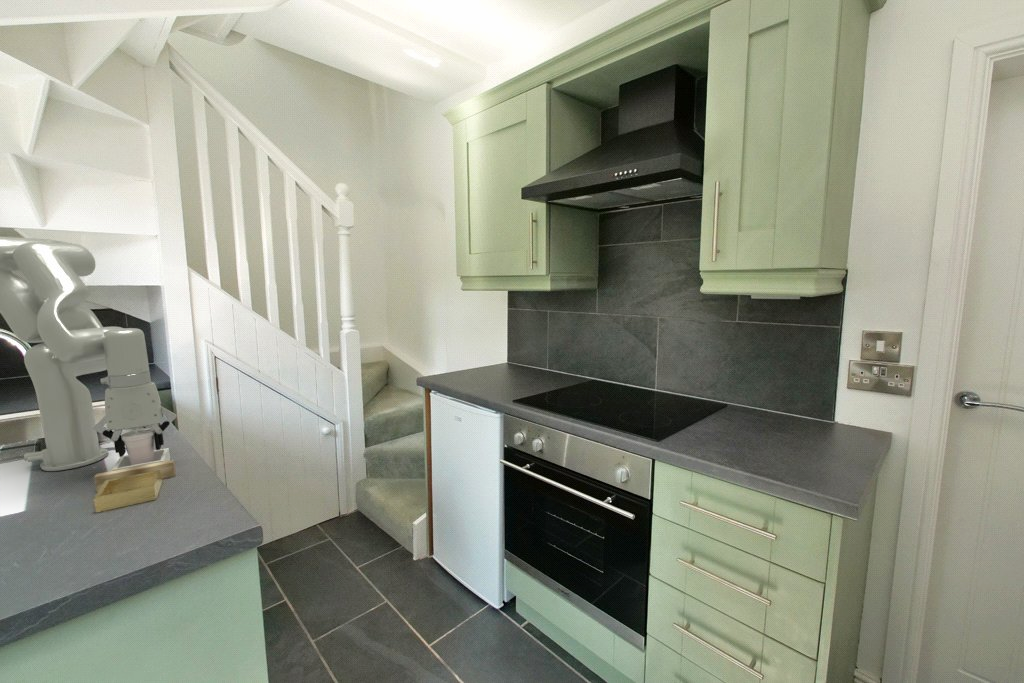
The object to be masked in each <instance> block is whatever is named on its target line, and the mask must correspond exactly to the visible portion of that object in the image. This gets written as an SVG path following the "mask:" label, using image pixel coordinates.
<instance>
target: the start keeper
mask: <svg viewBox="0 0 1024 683" xmlns="http://www.w3.org/2000/svg"><path fill="white" fill-rule="evenodd" d="M169 460H171V454H170V448H169V447H166V448H160V450H156V449H154V452H153V462H147V463H142V464H137V465H131V462H130V459H129V456H128V454H124V456H121V457H119V458H118V460H117V461H116V463H115V464H114V466H113V467H112V469H111V471H115V470H120V469H126V468H131V467H137V466H142V465H147V464H153V463H158V462H163V461H169Z"/></svg>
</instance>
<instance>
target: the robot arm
mask: <svg viewBox="0 0 1024 683" xmlns="http://www.w3.org/2000/svg"><path fill="white" fill-rule="evenodd" d="M96 264H97V263H96V260H95V257H94V255H93V254H92V252H90V250H89V249H88V248H86V247H85V246H83V245H81V244H80V243H79V244H77V243H72V242H67V241H60V240H54V239H49V238H48V239H47V238H31V237H30V238H29V237H16V236H14V237H13V236H0V315H1V316H2V318H3V319H4V321H5V322H6V323H7V325H8V327H9V328H10V330H11V331H12V332H13V334H14V335H15V336H16V338H18V339H19V340H20V341H22V342H24V343H29V344H33V343H34V345H33V346H32V347H30V348H28V350H27V351H26V352H25V354H24V357H23V362H24V365H25V369H26V370H27V373H28V375H29V377H30V379H31V381H32V384H33V388H34V391H35V394H36V399H37V404H38V409H39V414H40V419H41V426H42V431H43V437H44V443H45V446H46V448H45V449H42V450H40V451H32V452H26V453H24V454H23V459H24V461H25V462H27V463H30V462H33V463H34V462H37V461H41V463H40V469H41V470H43V471H46V472H57V471H59V472H60V471H65V470H71V469H75V468H81V467H84V466H87V465H91V464H94V463H96V462H99V461H100V460H103V459H105V458H107V457H108V455H109V451H108V449H107V448H105V447H100V444H99V438H98V434H101V435H103V436H104V437H106V438H108V439H110V440H111V441H112V442H113V445H114V451H115V453H116V454H117V453H118V457H119V458H120V457H121V456H125V455H126V453H127V450H126V447H125V444H124V441H122V440H121V439H122V438H121V435H122V434H123V433H122V432H123V430H130V429H131V430H132V429H135V428H138V429H139V428H142V427H149V426H150V427H151V428H152V429H154V431H155V434H154V446H155V450H160V449H162V446H164V444H165V443H164V442H165V441H164V435H163V432H164V431H165V430H166V429H167V428H168V427H169V425H170V424H171V423H172V422H173V421H174V420H175V419H176V418H177V414H176V413H175V412H172V411H171V410H169V409H167V408H165V407H164V406H162V402H161V398H160V394H159V392H158V387H157V385H156V383H155V382H153V381H152V380H151V372H150V366H149V365H150V364H149V357H148V351H147V345H146V344H147V343H146V339H145V333H144V331H143V330H141V329H140V328H135V327H134V328H133V327H129V328H125V327H124V328H123V327H121V326H103V325H102V322H100V320H99V318H98V317H97V315H96V314H95V313H94V312H93V310H91V309H90V308H89V307H87V306H85V305H84V304H83V303H85V301H86V300H87V299H88V298H89V295H90V290H89V288H88V287H87V285H86V284H85V283H84V282H83V280H82V279H81V278H80V277H87V276H90V275H92V274H93V273H94V272H95V269H96V266H97V265H96ZM13 272H21V273H22V275H23V276H24V277H25V278H23V277H21V276H19V275H17V274H15V273H13ZM36 343H38V344H36ZM35 344H36V345H35ZM104 371H107V376H105V377H103V378H100V384H101V385H108V387H107V388H106V389H105V390H104V391H105V392H104V412H105V413H104V414H105V415H104V416H103V418H101V419H100V420H99V421H98V422H97V423H96V419H95V411H94V406H93V401H92V400H93V399H92V396H91V392H90V390H89V388H88V387H87V386H86V385H85V384H84V383H83V382H81V381H80V380H78V379H77V377H79V376H82V375H88V374H94V373H99V372H104ZM163 415H164V416H165V417H167V418H166V420H164V421H163V422H162V423H161V421H162V418H163V417H164V416H163ZM105 425H106V426H105Z"/></svg>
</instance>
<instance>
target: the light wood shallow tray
mask: <svg viewBox="0 0 1024 683" xmlns="http://www.w3.org/2000/svg"><path fill="white" fill-rule="evenodd" d="M162 483H163V479H162V478H161V471H160V470H158V471H153V472H148V473H142V474H137V475H132V476H127V477H122V478H117V479H111V480H106V481H105V482H104V483H103V485H102V486H101V488H100V490H99V491H98V492H96V494H95V496H94V497H93V505H94V508H95V513H96V514H98V513H102V512H106V511H111V510H115V509H119V508H125V507H128V506H133V505H139V504H141V503H145V502H152V501H155V500H157V498H158V495H159V492H160V489H161V487H162Z"/></svg>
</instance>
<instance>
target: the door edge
mask: <svg viewBox="0 0 1024 683" xmlns="http://www.w3.org/2000/svg"><path fill="white" fill-rule="evenodd" d="M158 470H160V471H161V478H162V480H163V479H168V478H169V479H170V478H173V477H176V474H177V473H176V463H175V459H170V460H169V461H163V462H158V463H153V464H147V465H142V466H137V467H131V468H126V469H120V470H115V471H112V470H110V471H105V472H101V473H96V474H95V475H94V476H93V479H94V480H93V481H94V485H95V491H96V493H98V491H99V490H100V488H101V486H102V485H103V483H104V482H105V481H106V480H111V479H117V478H122V477H127V476H132V475H137V474H142V473H148V472H153V471H158Z"/></svg>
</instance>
